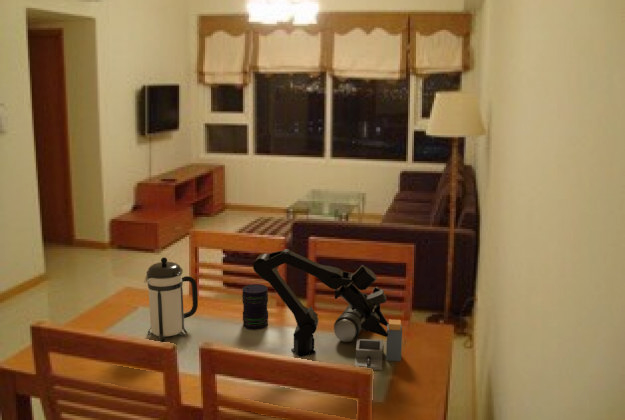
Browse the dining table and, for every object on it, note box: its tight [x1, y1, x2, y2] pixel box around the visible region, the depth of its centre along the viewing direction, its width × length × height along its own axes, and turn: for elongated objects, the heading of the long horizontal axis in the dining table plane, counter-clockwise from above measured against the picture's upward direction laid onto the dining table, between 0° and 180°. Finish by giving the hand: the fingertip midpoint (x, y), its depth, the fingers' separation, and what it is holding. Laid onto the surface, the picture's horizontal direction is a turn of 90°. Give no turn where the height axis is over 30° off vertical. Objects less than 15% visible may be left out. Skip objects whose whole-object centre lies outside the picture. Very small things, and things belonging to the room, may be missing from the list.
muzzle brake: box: [333, 303, 364, 343], centre depth 227 cm, size 10×28×10 cm, turn 162°
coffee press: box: [144, 257, 199, 342], centre depth 222 cm, size 17×16×30 cm
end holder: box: [354, 338, 384, 371], centre depth 207 cm, size 9×20×4 cm, turn 173°
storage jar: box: [241, 283, 269, 331], centre depth 232 cm, size 10×10×15 cm
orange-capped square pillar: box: [385, 319, 403, 362], centre depth 205 cm, size 5×5×13 cm
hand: (387, 330), depth 204 cm, fingers open, 9 cm apart
